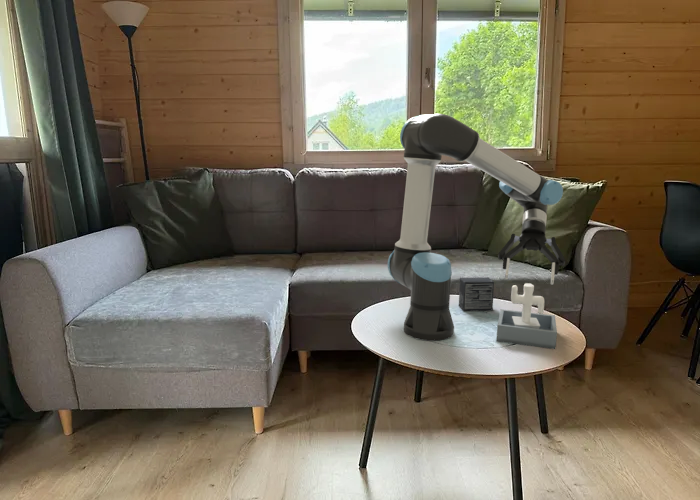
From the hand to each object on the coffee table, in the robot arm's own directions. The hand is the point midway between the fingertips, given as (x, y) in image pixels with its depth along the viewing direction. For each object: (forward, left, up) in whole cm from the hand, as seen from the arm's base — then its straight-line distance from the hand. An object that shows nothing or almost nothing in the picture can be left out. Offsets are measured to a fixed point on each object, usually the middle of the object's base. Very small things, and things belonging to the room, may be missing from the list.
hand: (529, 279), depth 157 cm
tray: (0, -11, -15) cm, 18 cm away
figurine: (0, -11, -14) cm, 17 cm away
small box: (-17, +10, -15) cm, 25 cm away
